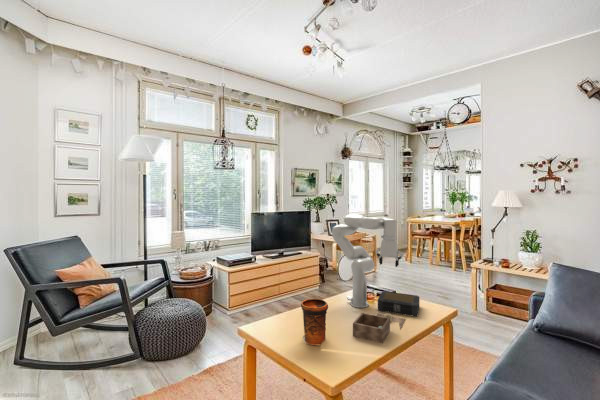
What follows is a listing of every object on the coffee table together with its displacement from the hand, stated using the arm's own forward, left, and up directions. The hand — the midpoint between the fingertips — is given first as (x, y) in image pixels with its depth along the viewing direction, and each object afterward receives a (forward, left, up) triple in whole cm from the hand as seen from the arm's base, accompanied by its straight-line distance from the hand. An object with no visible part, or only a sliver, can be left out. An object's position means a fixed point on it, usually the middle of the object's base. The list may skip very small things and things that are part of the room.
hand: (388, 265), depth 192 cm
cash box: (+3, +16, -33) cm, 36 cm away
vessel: (-27, -51, -32) cm, 66 cm away
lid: (+2, -10, -33) cm, 34 cm away
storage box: (-2, -31, -32) cm, 44 cm away
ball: (+2, -27, -30) cm, 40 cm away
